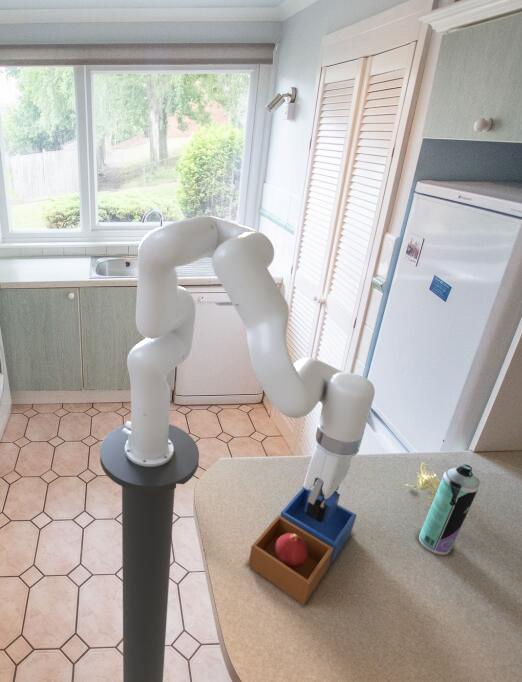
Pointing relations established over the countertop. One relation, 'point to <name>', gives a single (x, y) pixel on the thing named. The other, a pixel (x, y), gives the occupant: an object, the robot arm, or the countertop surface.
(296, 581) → the brown bin
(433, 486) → the pale yellow lumpy mass
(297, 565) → the onion
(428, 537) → the spray can
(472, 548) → the countertop surface
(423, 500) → the countertop surface
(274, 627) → the countertop surface
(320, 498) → the blue block
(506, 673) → the countertop surface
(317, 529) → the blue bin
